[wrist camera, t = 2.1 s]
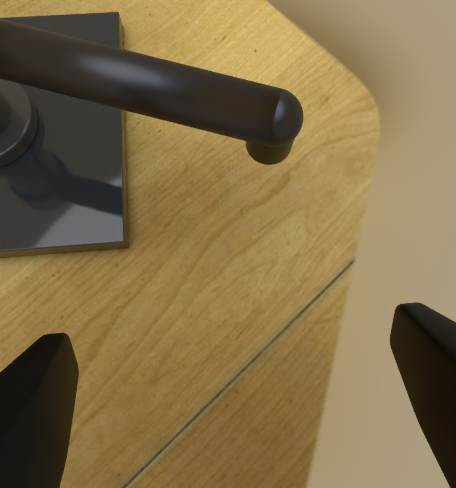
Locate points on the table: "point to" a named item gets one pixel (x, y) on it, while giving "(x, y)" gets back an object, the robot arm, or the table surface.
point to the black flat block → (62, 158)
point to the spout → (153, 88)
